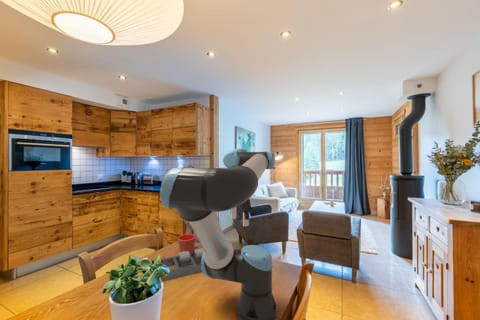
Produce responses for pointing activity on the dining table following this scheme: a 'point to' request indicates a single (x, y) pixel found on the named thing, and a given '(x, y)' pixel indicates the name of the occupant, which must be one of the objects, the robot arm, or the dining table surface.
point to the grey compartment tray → (180, 271)
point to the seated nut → (198, 255)
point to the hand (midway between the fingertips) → (239, 222)
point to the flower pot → (187, 242)
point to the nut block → (183, 259)
